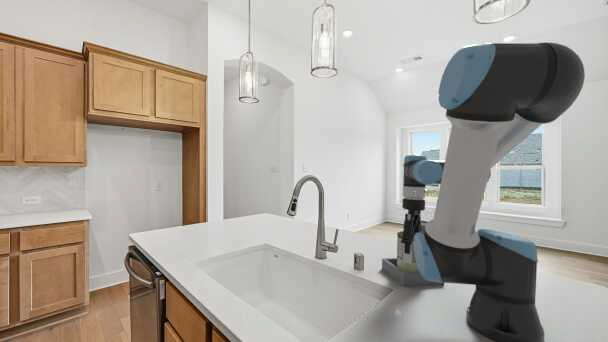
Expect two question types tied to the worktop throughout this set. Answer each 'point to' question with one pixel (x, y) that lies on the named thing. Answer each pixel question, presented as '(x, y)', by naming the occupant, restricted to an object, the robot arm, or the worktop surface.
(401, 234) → the coffee can
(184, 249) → the worktop surface
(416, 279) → the housing tray
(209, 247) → the worktop surface
